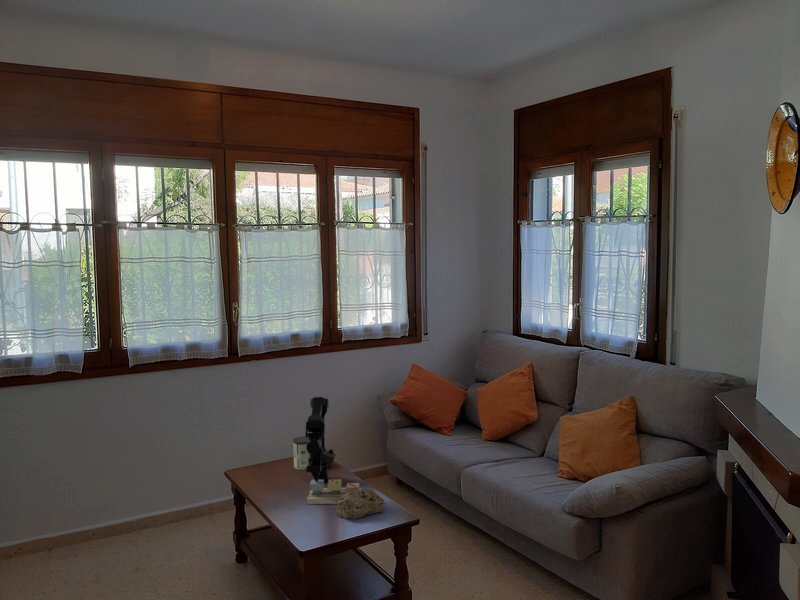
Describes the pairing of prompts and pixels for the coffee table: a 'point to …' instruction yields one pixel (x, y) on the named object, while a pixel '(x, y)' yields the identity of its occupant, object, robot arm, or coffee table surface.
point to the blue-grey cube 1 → (316, 486)
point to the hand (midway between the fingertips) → (316, 480)
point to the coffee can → (301, 452)
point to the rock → (359, 504)
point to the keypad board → (325, 497)
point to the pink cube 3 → (352, 487)
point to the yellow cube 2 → (334, 486)
